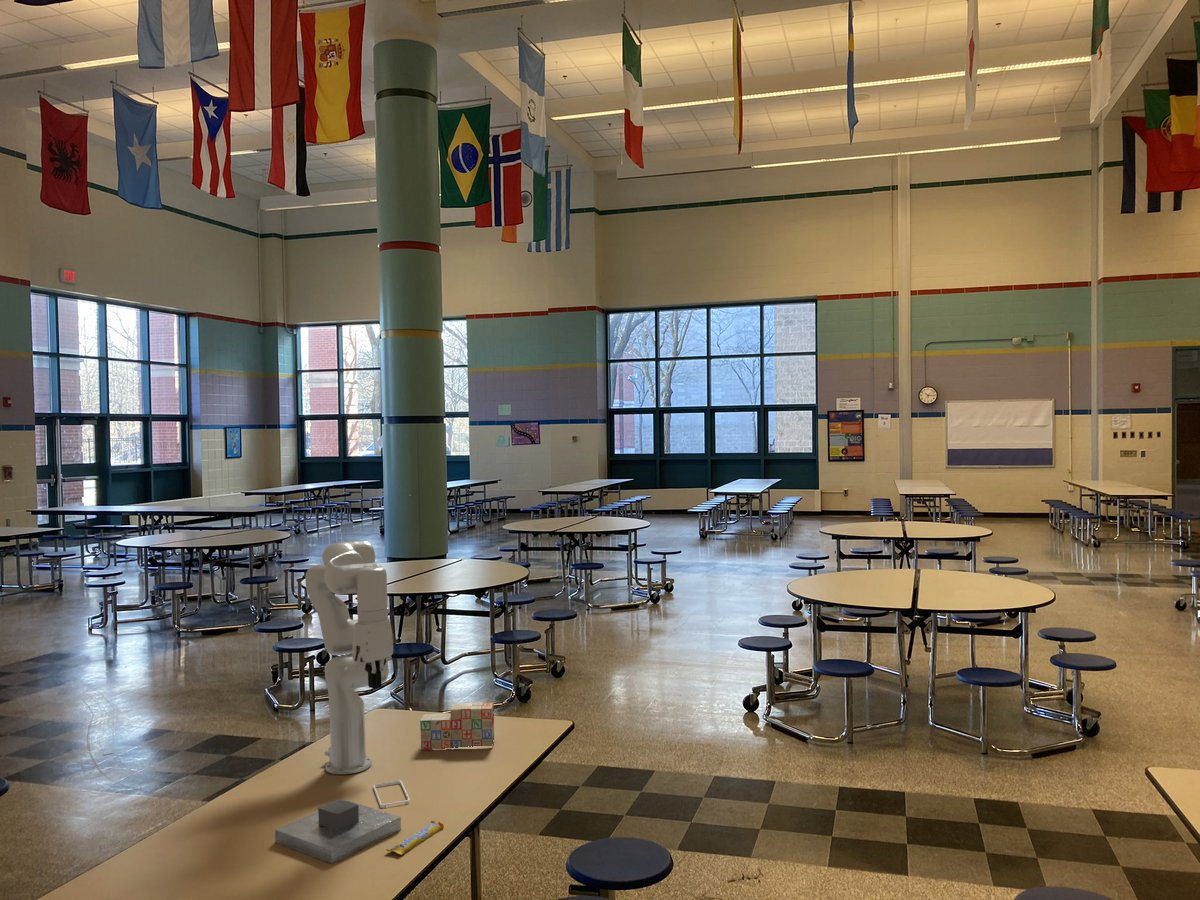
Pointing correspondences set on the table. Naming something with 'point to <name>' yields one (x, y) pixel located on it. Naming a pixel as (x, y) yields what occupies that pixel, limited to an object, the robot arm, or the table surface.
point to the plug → (338, 815)
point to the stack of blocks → (459, 727)
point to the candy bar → (417, 838)
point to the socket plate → (337, 834)
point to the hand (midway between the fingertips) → (375, 687)
